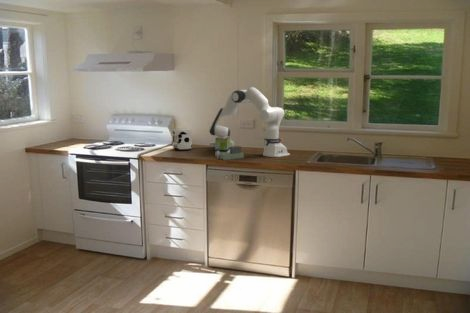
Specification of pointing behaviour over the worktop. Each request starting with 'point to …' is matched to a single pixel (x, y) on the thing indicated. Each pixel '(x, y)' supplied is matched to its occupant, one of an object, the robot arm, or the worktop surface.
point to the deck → (231, 153)
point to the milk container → (182, 139)
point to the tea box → (222, 144)
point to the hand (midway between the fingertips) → (222, 145)
